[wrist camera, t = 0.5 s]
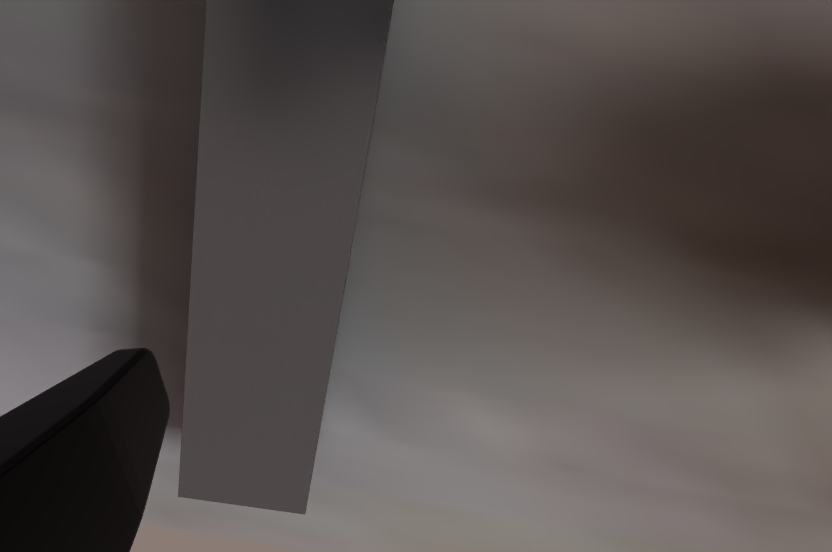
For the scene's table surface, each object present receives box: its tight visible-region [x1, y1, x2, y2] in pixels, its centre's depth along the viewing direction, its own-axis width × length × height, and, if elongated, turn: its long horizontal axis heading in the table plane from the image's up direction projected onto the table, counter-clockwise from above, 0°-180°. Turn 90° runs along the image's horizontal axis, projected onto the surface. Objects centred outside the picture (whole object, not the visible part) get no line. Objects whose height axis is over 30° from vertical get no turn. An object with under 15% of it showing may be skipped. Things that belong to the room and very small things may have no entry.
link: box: [178, 0, 394, 514], centre depth 18 cm, size 24×6×3 cm, turn 169°
